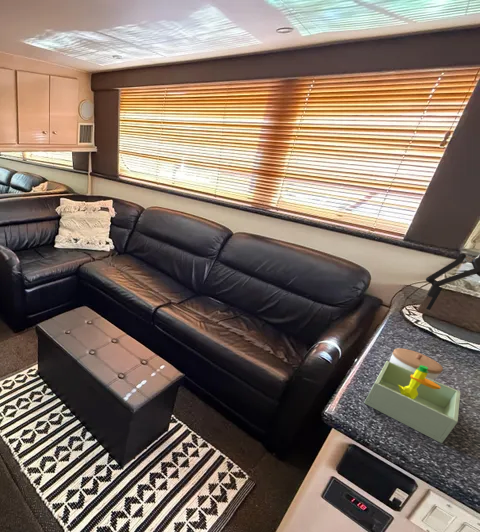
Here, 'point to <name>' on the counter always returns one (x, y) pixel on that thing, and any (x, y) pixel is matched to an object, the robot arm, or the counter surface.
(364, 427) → the counter surface
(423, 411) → the bin
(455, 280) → the robot arm
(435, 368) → the trinket box
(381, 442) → the counter surface
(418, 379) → the toy figure
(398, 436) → the counter surface
